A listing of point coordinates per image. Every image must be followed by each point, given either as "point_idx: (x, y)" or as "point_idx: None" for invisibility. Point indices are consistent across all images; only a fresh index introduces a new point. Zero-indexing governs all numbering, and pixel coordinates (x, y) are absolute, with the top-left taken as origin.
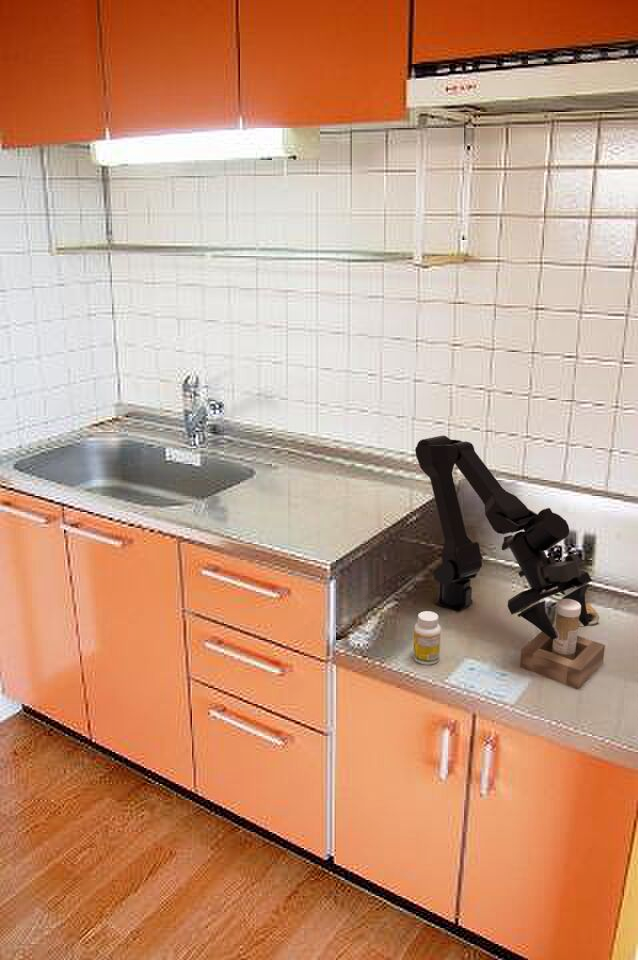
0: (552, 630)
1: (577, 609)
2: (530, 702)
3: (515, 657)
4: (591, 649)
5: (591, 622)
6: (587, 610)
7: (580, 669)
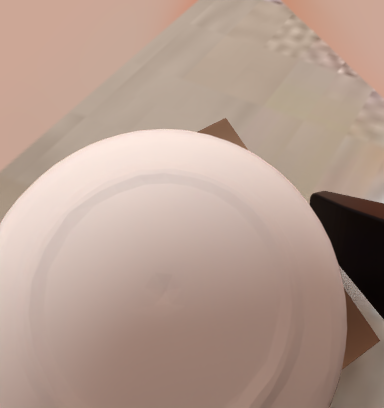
0: (361, 201)
1: (142, 133)
2: (379, 151)
3: None
4: None
5: None
6: None
7: (221, 123)
